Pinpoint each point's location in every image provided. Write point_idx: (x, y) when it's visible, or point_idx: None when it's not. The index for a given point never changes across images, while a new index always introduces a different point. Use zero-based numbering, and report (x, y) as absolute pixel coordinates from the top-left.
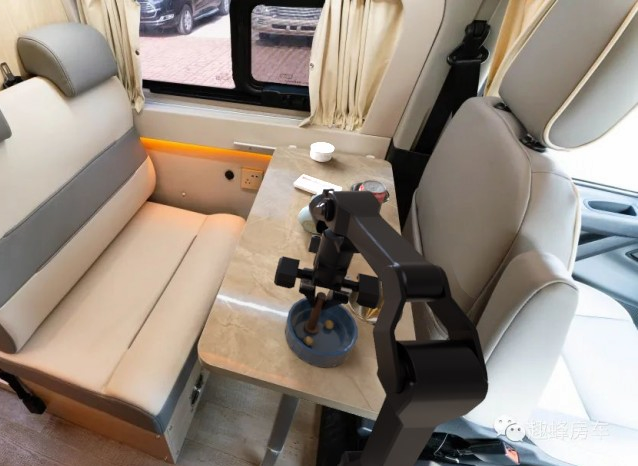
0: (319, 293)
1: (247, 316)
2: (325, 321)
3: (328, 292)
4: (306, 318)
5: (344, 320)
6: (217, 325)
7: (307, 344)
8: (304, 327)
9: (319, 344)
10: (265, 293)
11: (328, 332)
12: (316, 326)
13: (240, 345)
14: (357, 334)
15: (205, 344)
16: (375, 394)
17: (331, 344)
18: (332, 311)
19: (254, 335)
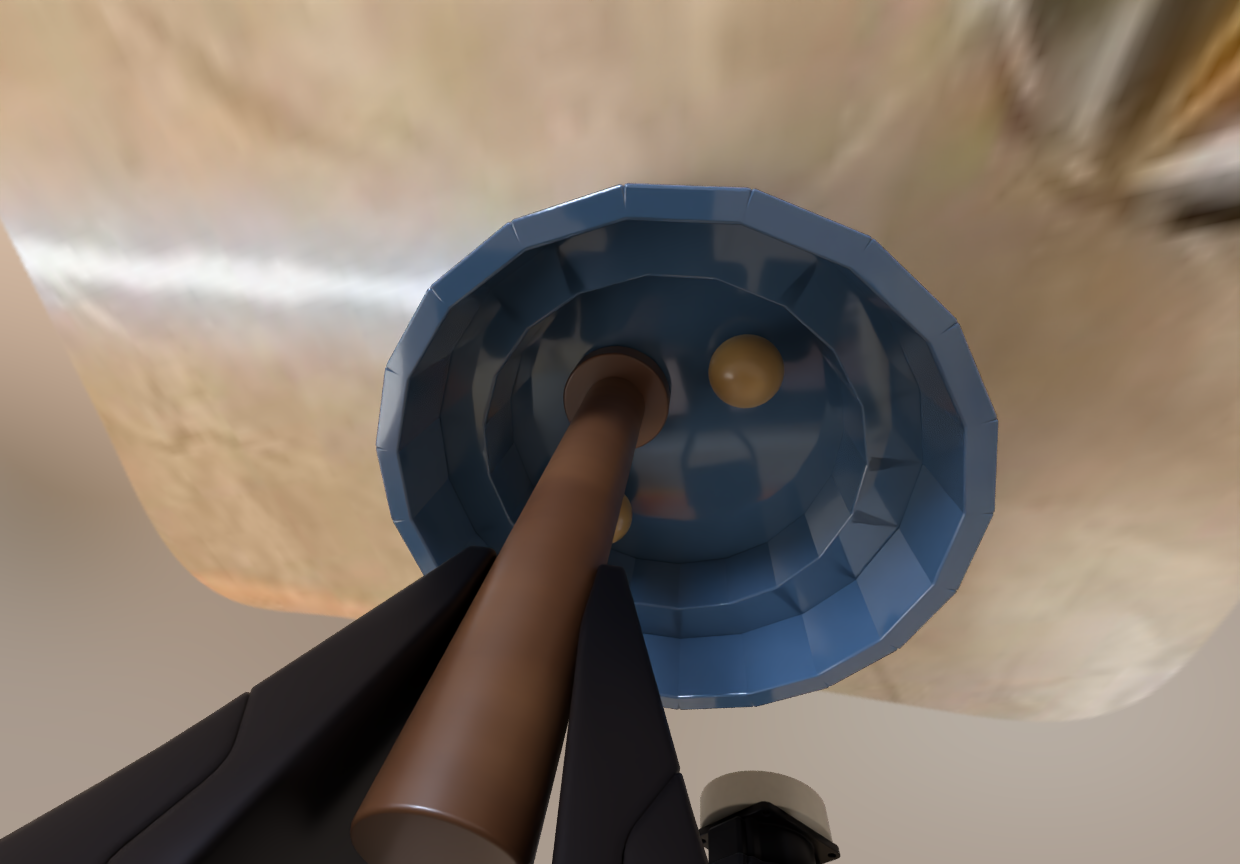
0: (385, 840)
1: (235, 369)
2: (714, 363)
3: (554, 860)
4: (579, 319)
5: (886, 350)
6: (142, 454)
7: None
8: (568, 419)
9: (677, 491)
10: (230, 122)
11: None
12: (648, 401)
13: (298, 533)
14: (964, 568)
15: (168, 547)
16: (946, 664)
17: (752, 483)
18: (783, 271)
19: (329, 476)
